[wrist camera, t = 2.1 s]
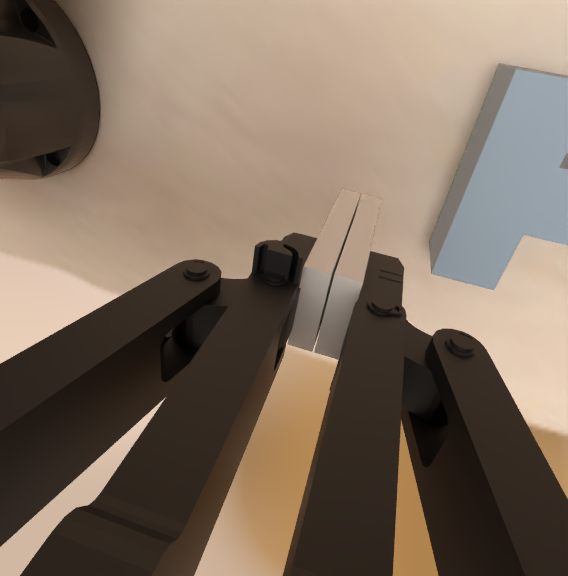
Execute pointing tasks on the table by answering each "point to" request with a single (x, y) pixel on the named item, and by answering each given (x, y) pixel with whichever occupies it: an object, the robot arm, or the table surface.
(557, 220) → the tee block
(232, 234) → the table surface
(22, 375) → the robot arm
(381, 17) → the table surface
